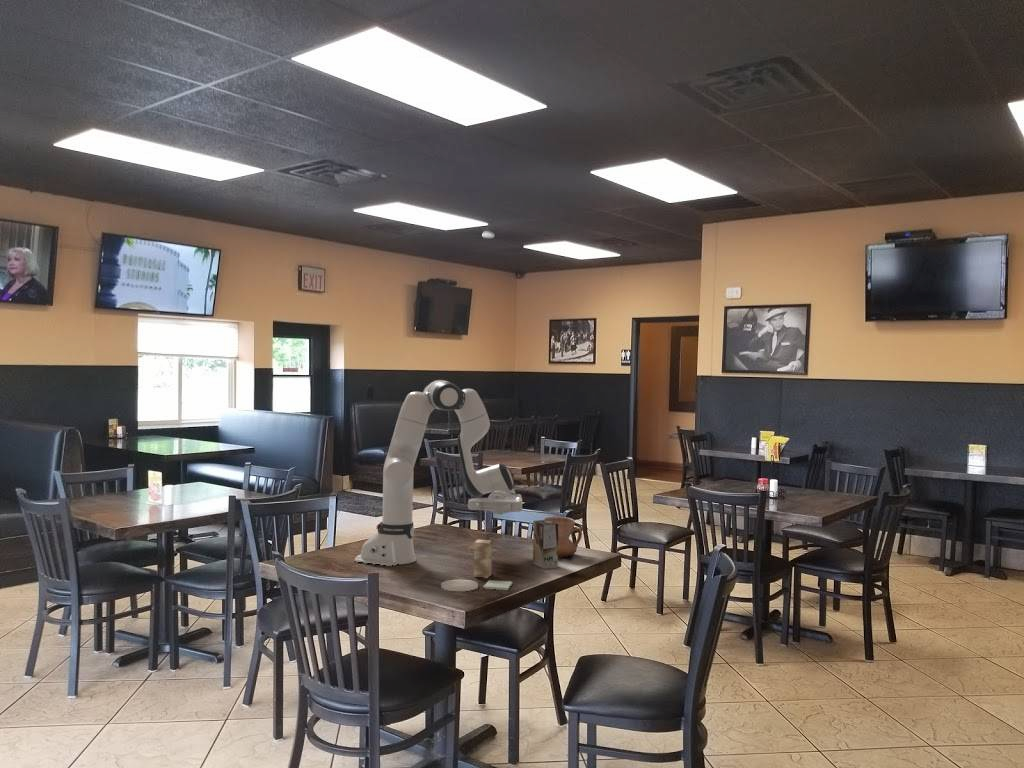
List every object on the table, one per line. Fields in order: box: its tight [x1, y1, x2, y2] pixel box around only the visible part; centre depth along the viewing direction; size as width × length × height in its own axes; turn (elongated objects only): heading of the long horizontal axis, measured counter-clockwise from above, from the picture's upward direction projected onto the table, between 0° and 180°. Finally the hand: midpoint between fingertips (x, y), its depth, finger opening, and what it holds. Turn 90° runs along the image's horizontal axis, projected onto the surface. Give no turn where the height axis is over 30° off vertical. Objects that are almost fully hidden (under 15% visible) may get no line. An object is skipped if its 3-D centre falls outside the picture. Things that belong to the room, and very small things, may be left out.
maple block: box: [473, 539, 493, 579], centre depth 263 cm, size 5×5×12 cm
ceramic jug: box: [542, 516, 583, 558], centre depth 296 cm, size 18×14×14 cm
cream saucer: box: [440, 578, 479, 592], centre depth 248 cm, size 12×12×1 cm
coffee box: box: [532, 519, 559, 570], centre depth 279 cm, size 9×6×16 cm
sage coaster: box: [483, 579, 513, 591], centre depth 250 cm, size 8×8×1 cm
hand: (491, 508), depth 275 cm, fingers open, 8 cm apart
